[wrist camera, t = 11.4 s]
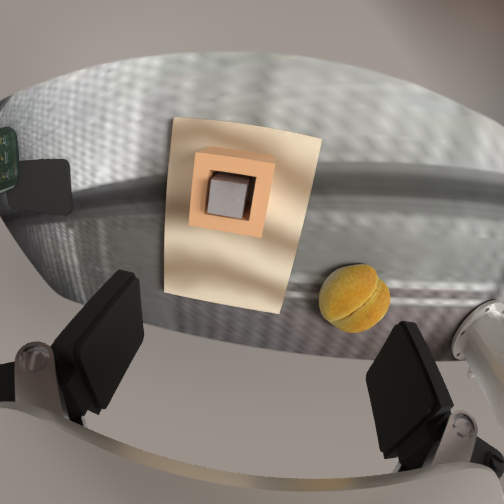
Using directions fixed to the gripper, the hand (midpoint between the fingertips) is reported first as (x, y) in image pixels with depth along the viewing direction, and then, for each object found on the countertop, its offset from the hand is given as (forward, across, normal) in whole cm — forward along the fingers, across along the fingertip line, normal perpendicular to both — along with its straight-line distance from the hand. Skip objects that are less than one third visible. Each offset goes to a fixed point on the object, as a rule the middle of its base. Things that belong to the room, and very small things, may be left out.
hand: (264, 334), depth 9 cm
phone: (+20, +32, +2) cm, 38 cm away
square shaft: (+19, +4, -1) cm, 19 cm away
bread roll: (+21, -12, +10) cm, 26 cm away
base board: (+20, +4, +4) cm, 20 cm away
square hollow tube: (+19, +4, -1) cm, 19 cm away
